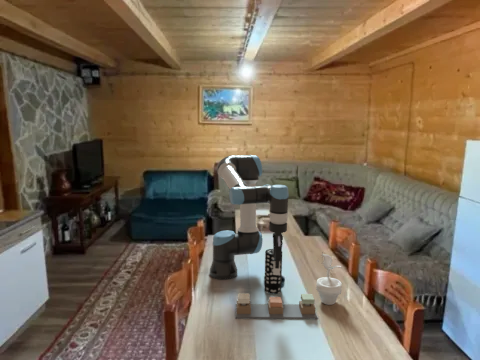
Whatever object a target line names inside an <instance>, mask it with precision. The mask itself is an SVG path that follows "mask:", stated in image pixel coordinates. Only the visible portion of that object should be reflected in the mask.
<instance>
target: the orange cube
mask: <svg viewBox="0 0 480 360" xmlns="http://www.w3.org/2000/svg"><path fill="white" fill-rule="evenodd" d="M268 301H269V302H270V307H282V304H283V300H282V297H281V296H269V299H268Z"/></svg>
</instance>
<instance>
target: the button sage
mask: <svg viewBox="0 0 480 360" xmlns="http://www.w3.org/2000/svg"><path fill="white" fill-rule="evenodd" d="M300 301H302V303H303V304H305V306H310V304H314V305H315V297H314V294H312V293H300Z"/></svg>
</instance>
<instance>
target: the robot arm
mask: <svg viewBox="0 0 480 360" xmlns="http://www.w3.org/2000/svg"><path fill="white" fill-rule="evenodd" d="M216 172H217V174H218V177H219V178H220V179H222V180H224V182H225V184H226V186H227V187H228V188H229V195H228V196H229V197H228V199H229V202H230V204H232V205H237V206H238V205H239V206H240V207H239V212H240V213H239V215H240V216H239V220H240V222H239V224H240V225H239V228H238V229H237V233H235V231H233V230H221V231H218V232H216V233H214V235H213V238H212V262H211V265H210V268H209V276H210V277H212V278H213V279H216V280H231V279H233V278H236V277H237V276H238V267H237V265H236V262H235V256H241V255H253V254H258V253H260V252H261V250H262V248H263V247H262V246H263V242H264V241H263V235H262V232H261V231H259V228H258V227H257V212H256V211H257V205H256V204H268V205H269V213H268V217H269V224H268V225H269V227H268V230H269V231H270V232H271V233H272V244H273V245H272V246H273V248H272V249H273V256H274V257H273V258H274V259H273V261H274V262H273V275H280V261H281V253H282V254H283V240H284V236H283V233H286V232H287V231H288V223H287V222H288V217H289V215H288V213H289V212H288V211H289V210H288V208H289V196H290V195H289V187H288V185H284V184H267V183H266V184H264V185H261V186H259V185H258V186H257V182H259V178H260V177H261V176H262V175H263V164H262V161H261V159H260V157H259V156H257V155H253V154H243V155H242V154H241V155H239V154H238V155H237V154H234V155H227V156H225V157H223V158H222V159H221V160H220V161H219V162H218V164H217V167H216Z"/></svg>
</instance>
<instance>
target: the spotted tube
mask: <svg viewBox="0 0 480 360" xmlns="http://www.w3.org/2000/svg"><path fill="white" fill-rule="evenodd" d="M273 257H274V256H273V248H269V249H266V250H265V253H264V287H263V288H264V289H263V290H264V292H265V293H267V294H271V295H278V294H280V293H281V292H282V271H283V252H282V253H281V261H280V275H273V262H274V261H273V259H274V258H273Z"/></svg>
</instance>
